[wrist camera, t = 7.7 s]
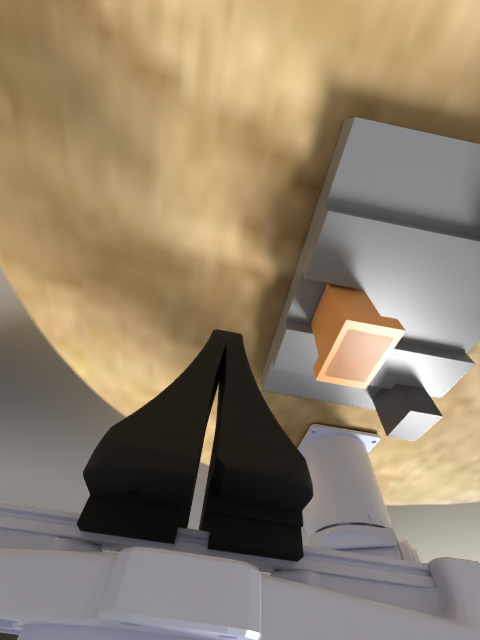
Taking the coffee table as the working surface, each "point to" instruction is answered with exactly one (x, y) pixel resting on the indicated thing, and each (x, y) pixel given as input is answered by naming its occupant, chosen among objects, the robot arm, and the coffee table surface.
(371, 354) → the handle
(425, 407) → the box
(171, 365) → the coffee table surface
